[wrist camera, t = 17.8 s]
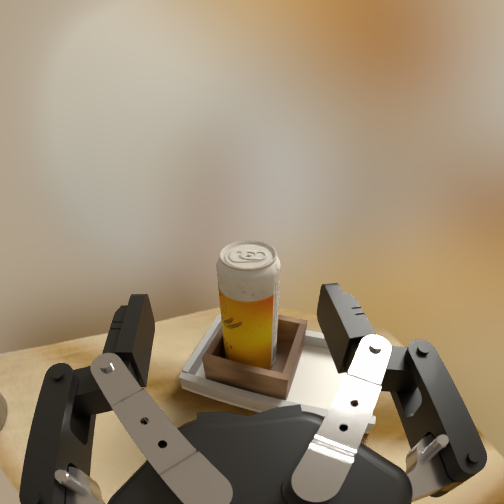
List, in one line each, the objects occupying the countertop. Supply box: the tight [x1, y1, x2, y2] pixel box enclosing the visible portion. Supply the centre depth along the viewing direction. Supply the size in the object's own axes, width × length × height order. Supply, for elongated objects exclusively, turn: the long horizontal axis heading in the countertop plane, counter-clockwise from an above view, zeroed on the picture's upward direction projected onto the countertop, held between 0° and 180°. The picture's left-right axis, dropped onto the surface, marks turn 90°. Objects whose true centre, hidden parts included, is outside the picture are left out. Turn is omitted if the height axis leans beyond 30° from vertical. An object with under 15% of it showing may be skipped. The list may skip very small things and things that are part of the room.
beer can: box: [217, 240, 280, 369], centre depth 33 cm, size 6×6×15 cm
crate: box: [202, 315, 307, 400], centre depth 36 cm, size 10×10×5 cm
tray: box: [179, 313, 376, 434], centre depth 36 cm, size 22×13×3 cm, turn 71°
